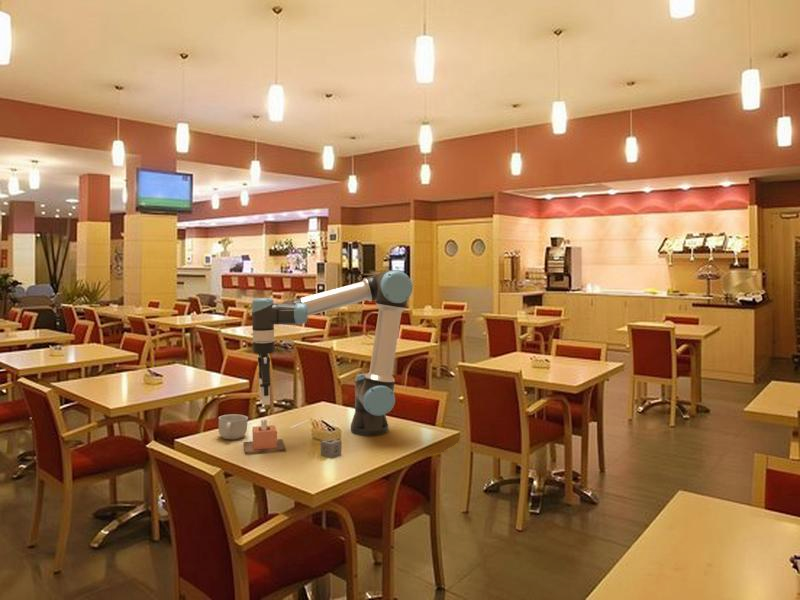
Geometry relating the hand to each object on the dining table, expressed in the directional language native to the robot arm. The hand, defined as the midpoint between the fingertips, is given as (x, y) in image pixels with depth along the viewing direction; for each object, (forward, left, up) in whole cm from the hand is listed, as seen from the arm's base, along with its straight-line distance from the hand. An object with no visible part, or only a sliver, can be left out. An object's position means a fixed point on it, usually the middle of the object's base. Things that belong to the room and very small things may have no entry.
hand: (264, 400), depth 209 cm
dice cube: (-21, +14, -18) cm, 31 cm away
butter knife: (-20, -34, -18) cm, 44 cm away
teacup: (+11, -15, -18) cm, 26 cm away
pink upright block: (0, 0, -16) cm, 16 cm away
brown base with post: (0, 0, -17) cm, 17 cm away
